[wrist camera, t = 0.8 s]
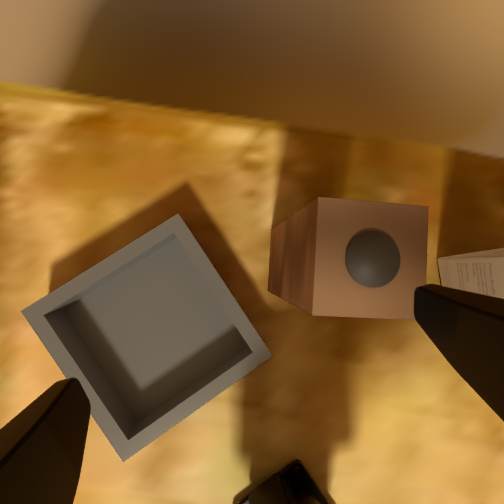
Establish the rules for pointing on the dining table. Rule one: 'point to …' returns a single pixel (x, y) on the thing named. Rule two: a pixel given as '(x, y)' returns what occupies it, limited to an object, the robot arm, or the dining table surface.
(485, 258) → the supplement box
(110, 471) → the dining table surface
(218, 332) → the tray
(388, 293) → the block
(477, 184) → the dining table surface
